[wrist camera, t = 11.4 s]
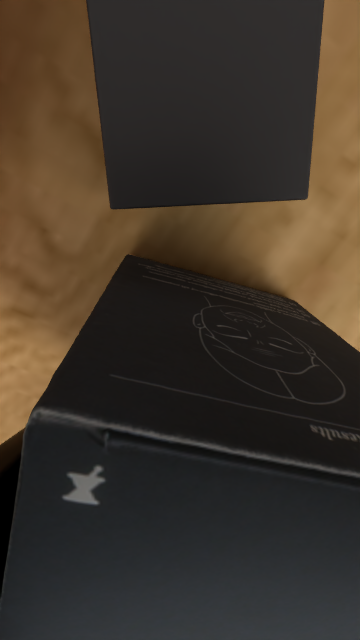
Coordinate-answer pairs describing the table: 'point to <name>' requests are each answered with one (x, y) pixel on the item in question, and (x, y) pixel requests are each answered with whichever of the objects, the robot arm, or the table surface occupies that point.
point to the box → (190, 472)
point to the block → (206, 99)
